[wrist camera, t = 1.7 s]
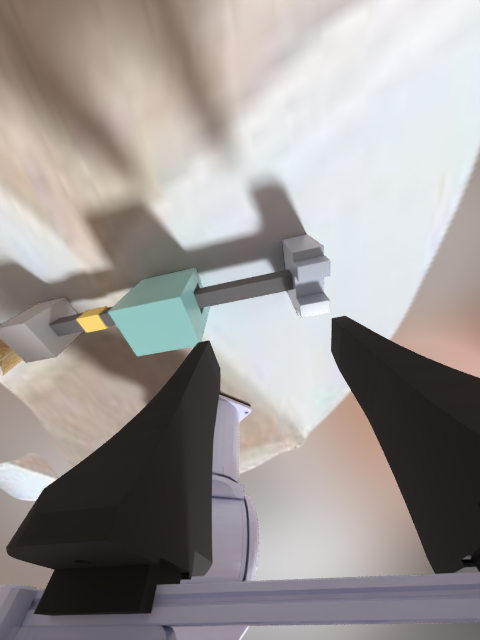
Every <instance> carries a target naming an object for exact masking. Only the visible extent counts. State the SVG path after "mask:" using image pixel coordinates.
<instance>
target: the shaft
mask: <svg viewBox="0 0 480 640" xmlns="http://www.w3.org/2000/svg"><path fill="white" fill-rule="evenodd" d="M288 290H293V279H292V274H291V272H290V270H284V271H279V272H275V273H270V274H265V275H260V276H256V277H251V278H246V279H241V280H237V281H232V282H227V283H223V284H218V285H213V286H208V287H204V288H199V289H195V290H194V292H193V293H194V295H195V298H196V301H197V303H198V306H199V308H203V307H208V306H213V305H218V304H223V303H228V302H233V301H238V300H243V299H248V298H253V297H258V296H263V295H268V294H273V293H278V292H283V291H288ZM111 308H112V307H109V308H108V307H107V306H105V307H101V308H96V309H91V310H87V311H85V312H84V313H81V314H76V315H72V316H67V317H62V318H59V319H57V320H56V321H54V322H53V323H52V324H50V325H49V326H50V327H51V329H52V330H53V331H54V332H55V333H56V334H57V335H58V336H63V335H68V334H73V333H78V332H83V331H85V332H86V333H88V332H93V331H98V330H103V329H107V328H108V327H109V326H113V325H116V324H115V322H114V321H113V319H112V318H111V316H110V315H109V313H108V311H109V310H110V309H111Z"/></svg>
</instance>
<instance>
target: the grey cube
mask: <svg viewBox="0 0 480 640" xmlns="http://www.w3.org/2000/svg"><path fill="white" fill-rule="evenodd" d="M76 314H77V312H76V311H75V310H74V308H73V307H72V306H71V304H70V303H69V302H68V300H67V299H66V298H65V297H64V298H59V299H55V300H50V301H46V302H41V303H38V304H36V305H34V306H32V307H31V308H29V309H27V310H25V311H24V312H22V313H20V314H19V315H17V316H15V317H13V318H12V319H10V320H8V321H6V322H5V323H3V324H1V325H0V339H1V340H2V341H3V342H5V343H6V344H7V345H8V346H9V347H10V348H11V349H12V350H13V351H14V352H15V353H16V354H17V355H18V356H20V357H21V358H22V359H23V360H24V361H25V362H26V363H27V362H33V361H38V360H43V359H49V358H54V357H57V356H58V355H59V354H60V353H61V352H62V351H63V350H64V349H65V348H66V347H67V346H68V345H69V344H71V343H72V342H73V341H74V340H75V339H76V338H77V337H78V336H79V335H80V334H81V333H82V332H78V333H73V334H68V335H63V336H58V335H57V334H56V333H55V332H54V331H53V330H52V329H51V327H50V326H49V325H50V324H52V323H53V322H54V321H56V320H57V319H59V318H62V317H67V316H72V315H76ZM83 332H84V331H83Z"/></svg>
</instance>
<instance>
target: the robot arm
mask: <svg viewBox="0 0 480 640" xmlns="http://www.w3.org/2000/svg"><path fill="white" fill-rule="evenodd" d="M331 352H332V354H333V357H334V359H335V361H336V364H337V366H338V368H339V370H340V372H341V374H342V375H343V377H344V379H345V381H346V382H347V384H348V386H349V387H350V389H351V391H352V392H353V394H354V396H355V397H356V399H357V401H358V403H359V404H360V406H361V408H362V409H363V411H364V413H365V415H366V416H367V418H368V420H369V422H370V424H371V426H372V428H373V430H374V432H375V435H376V437H377V439H378V441H379V443H380V445H381V447H382V450H383V452H384V454H385V456H386V459H387V461H388V463H389V465H390V468H391V470H392V472H393V474H394V477H395V479H396V481H397V484H398V486H399V489H400V491H401V493H402V495H403V498H404V500H405V503H406V505H407V508H408V510H409V513H410V515H411V518H412V520H413V523H414V525H415V528H416V530H417V533H418V535H419V538H420V540H421V543H422V546H423V548H424V551H425V553H426V556H427V558H428V560H429V562H430V564H431V566H432V568H433V570H434V572H435V574H422V575H397V576H396V575H395V576H370V577H345V578H322V579H321V578H319V579H295V580H269V581H268V580H267V581H255V575H256V571H257V565H258V555H259V529H258V519H257V513H256V509H255V507H254V504H253V503H252V501H251V499H250V497H249V496H248V495H244V484H240V483H239V422H240V421H241V420H243V419H244V418H245V417H246V416H247V415H248V414H249V413H250V412H251V411H252V408H251V407H250V406H247V405H245V404H242V403H240V402H237V401H235V400H232V399H230V398H227V397H225V396H222V395H220V394H219V393H220V367H219V364H218V362H217V359H216V357H215V354H214V351H213V349H212V346H211V344H210V341H204V342H198V343H197V344H196V345H195V347H194V348H193V350H192V351H191V352H190V354H189V355H188V356H187V358H186V359H185V360H184V362H183V363H182V364H181V366H180V367H179V368H178V370H177V371H176V372H175V374H174V375H173V376H172V377H171V378H170V380H169V381H168V382H167V383H166V384H165V386H164V387H163V388H162V389H161V390H160V392H159V393H158V394H157V395H156V396H155V397H154V398H153V399H152V400H151V401H150V402H149V403H148V404H147V405H146V406H145V407H144V408H143V409H142V410H141V411H140V412H139V413H138V414H137V415H136V416H135V417H134V418H133V419H132V420H131V421H130V422H129V423H127V424H126V425H125V426H124V427H123V428H122V429H121V430H120V431H119V432H118V433H116V434H115V435H114V436H113V437H112V438H111V439H110V440H108V441H107V442H106V443H105V444H103V445H102V446H101V447H100V448H98V449H97V450H96V451H95V452H93V453H92V454H91V455H89V456H88V457H87V458H86V459H84V460H83V461H82V462H80V463H79V464H78V465H76V466H75V467H73V468H72V469H71V470H69V471H68V472H67V473H65V474H64V475H62V476H61V477H60V478H58V479H57V480H56V481H54V482H53V483H51V484H50V485H49V486H47V487H46V488H44V490H43V491H42V493H41V494H40V496H39V497H38V499H37V500H36V502H35V504H34V505H33V507H32V508H31V510H30V511H29V513H28V515H27V516H26V518H25V519H24V521H23V522H22V524H21V525H20V527H19V528H18V530H17V532H16V533H15V535H14V536H13V538H12V539H11V541H10V542H9V544H8V546H7V548H6V549H7V553H8V555H9V556H11V557H13V558H16V559H19V560H22V561H25V562H29V563H32V564H36V565H40V566H44V567H47V568H51V569H55V570H54V572H53V574H52V577H51V579H50V581H49V583H48V585H47V587H46V589H39V590H37V589H36V587H31V586H26V585H16V584H5V585H0V640H240V639H241V638H242V637H243V635H244V634H245V632H246V631H247V629H248V628H249V626H261V625H262V626H263V625H332V624H333V625H335V624H336V625H337V624H404V623H405V624H406V623H407V624H408V623H476V622H477V623H480V378H478V377H475V376H472V375H469V374H467V373H464V372H461V371H458V370H456V369H453V368H450V367H448V366H445V365H443V364H441V363H438V362H436V361H433V360H431V359H428V358H426V357H424V356H421V355H419V354H417V353H415V352H413V351H411V350H409V349H406V348H404V347H402V346H400V345H398V344H396V343H394V342H392V341H390V340H388V339H386V338H384V337H383V336H381V335H379V334H377V333H375V332H373V331H372V330H370V329H368V328H366V327H365V326H363V325H361V324H359V323H357V322H356V321H354V320H352V319H350V318H348V317H347V316H342V317H337V318H332V338H331Z"/></svg>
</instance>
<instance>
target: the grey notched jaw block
mask: <svg viewBox="0 0 480 640" xmlns="http://www.w3.org/2000/svg"><path fill="white" fill-rule="evenodd" d="M282 244H283V253H284V262H285V270H290V272H291V274H292V279H293V290H288V295H289V297H290V299H291V302H292V304H293V306H294V308H295V311H296V313H297V315H298V316H301V318H302V317H308V316H313V315H318V314H324V313H329V312H330V300H329V298H328V297H327V296H326V295H325V293H324V277H326V276H330V260H329V259H328V258H327V257H326V256H324V246H323V245H322V244H320V243H319V242H317V241H316V240H315V239H313V238H312V237H310V236H309V235H307V234H305V235H301V236H296V237H292V238H287V239H283V240H282Z"/></svg>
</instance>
